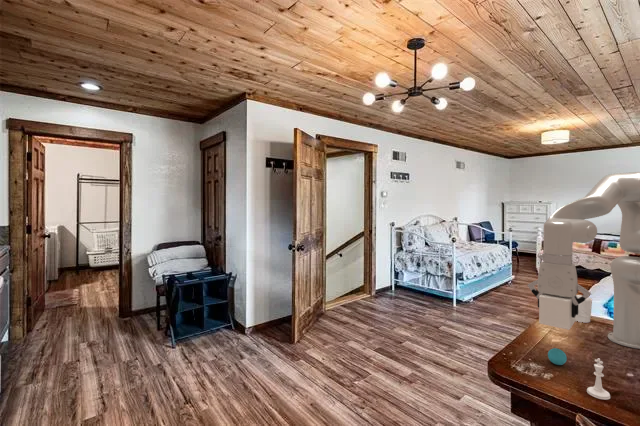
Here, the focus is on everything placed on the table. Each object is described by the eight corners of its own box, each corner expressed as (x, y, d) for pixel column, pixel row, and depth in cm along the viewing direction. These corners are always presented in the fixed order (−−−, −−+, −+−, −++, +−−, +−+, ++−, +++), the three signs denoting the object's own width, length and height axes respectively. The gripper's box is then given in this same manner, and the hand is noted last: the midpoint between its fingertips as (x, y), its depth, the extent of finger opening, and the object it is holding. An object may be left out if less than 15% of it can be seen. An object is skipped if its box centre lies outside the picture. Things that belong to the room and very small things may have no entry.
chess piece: (603, 401, 87) (604, 364, 87) (582, 391, 92) (583, 356, 91) (614, 396, 89) (614, 360, 89) (593, 387, 94) (593, 352, 93)
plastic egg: (550, 361, 105) (553, 369, 107) (568, 358, 103) (570, 366, 105) (543, 346, 108) (546, 354, 111) (561, 343, 107) (563, 351, 109)
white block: (546, 315, 113) (546, 289, 112) (575, 320, 107) (575, 294, 106) (539, 323, 106) (539, 296, 105) (569, 329, 100) (569, 301, 100)
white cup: (596, 323, 139) (596, 300, 139) (574, 322, 141) (575, 299, 140) (585, 317, 147) (585, 295, 146) (565, 316, 148) (565, 294, 148)
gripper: (523, 257, 109) (523, 310, 110) (590, 264, 96) (590, 323, 97) (529, 254, 114) (529, 304, 115) (594, 260, 102) (594, 316, 102)
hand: (557, 313), depth 106 cm, fingers closed on white block, 7 cm apart
